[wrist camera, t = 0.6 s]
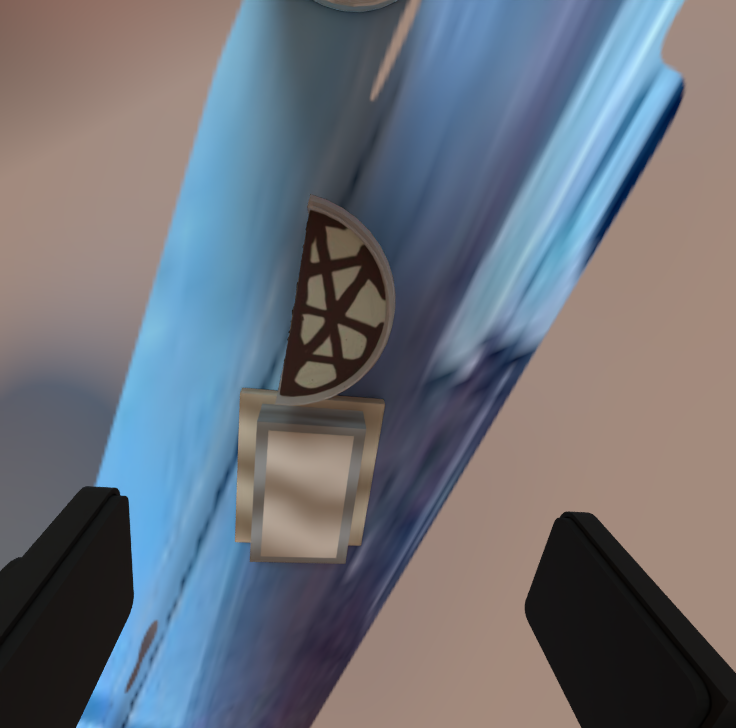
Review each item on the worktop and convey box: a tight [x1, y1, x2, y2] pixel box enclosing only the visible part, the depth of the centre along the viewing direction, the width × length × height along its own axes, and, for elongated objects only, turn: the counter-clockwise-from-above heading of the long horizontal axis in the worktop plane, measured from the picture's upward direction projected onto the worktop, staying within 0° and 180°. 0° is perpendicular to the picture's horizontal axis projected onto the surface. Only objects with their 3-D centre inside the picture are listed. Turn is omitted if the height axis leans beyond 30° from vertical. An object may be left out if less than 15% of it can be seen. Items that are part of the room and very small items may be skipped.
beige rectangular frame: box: [235, 388, 385, 564], centre depth 36 cm, size 16×12×4 cm
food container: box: [275, 194, 395, 406], centre depth 28 cm, size 12×6×10 cm, turn 167°
